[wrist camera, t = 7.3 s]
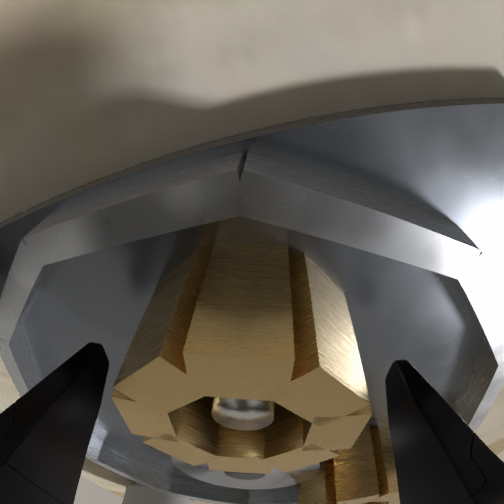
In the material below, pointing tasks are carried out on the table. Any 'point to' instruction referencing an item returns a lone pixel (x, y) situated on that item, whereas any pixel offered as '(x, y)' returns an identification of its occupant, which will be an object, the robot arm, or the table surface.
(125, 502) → the can
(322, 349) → the hollow octagonal wooden tube
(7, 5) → the table surface
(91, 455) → the tray
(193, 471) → the domed metal knob cap
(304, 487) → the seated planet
